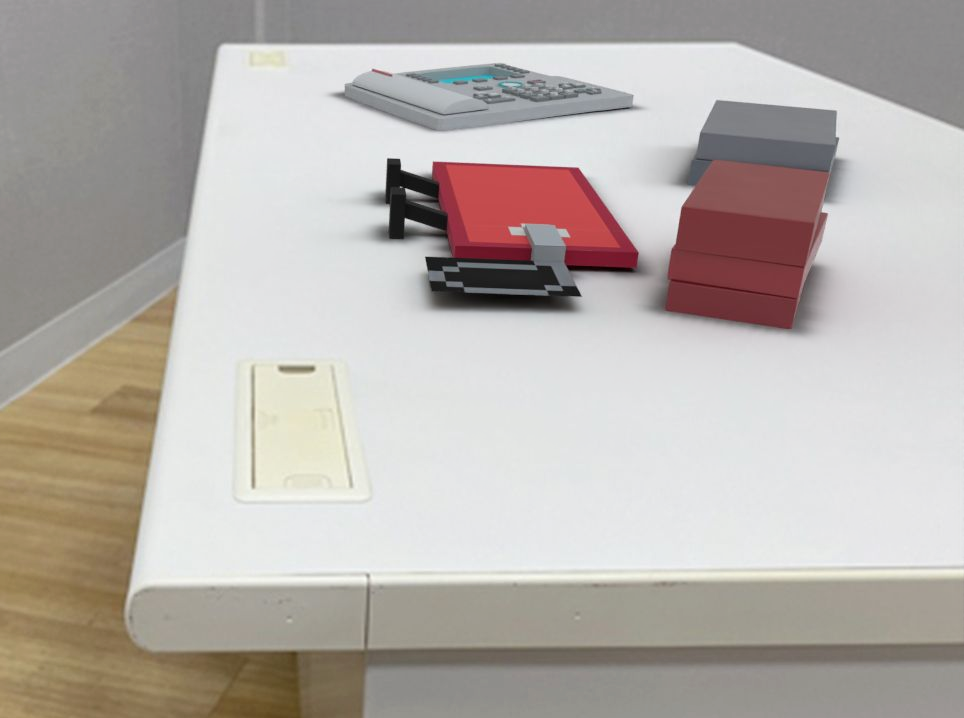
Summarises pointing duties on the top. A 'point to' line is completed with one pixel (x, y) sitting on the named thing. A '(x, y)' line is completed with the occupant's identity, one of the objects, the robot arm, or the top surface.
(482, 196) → the red board with handle
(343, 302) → the top surface
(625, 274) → the top surface
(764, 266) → the burgundy books
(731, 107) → the grey books
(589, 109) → the office telephone
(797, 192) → the burgundy book
